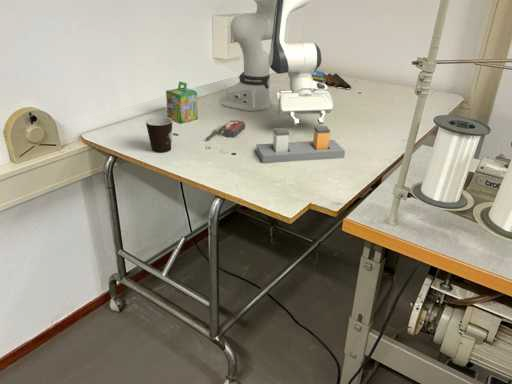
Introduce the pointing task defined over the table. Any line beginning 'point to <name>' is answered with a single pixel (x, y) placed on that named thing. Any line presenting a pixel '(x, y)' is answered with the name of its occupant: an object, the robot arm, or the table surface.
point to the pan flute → (335, 80)
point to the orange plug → (321, 137)
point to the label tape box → (318, 77)
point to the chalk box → (182, 104)
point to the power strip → (299, 152)
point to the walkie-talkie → (229, 129)
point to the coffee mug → (160, 133)
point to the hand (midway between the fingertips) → (308, 124)
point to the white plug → (280, 140)
